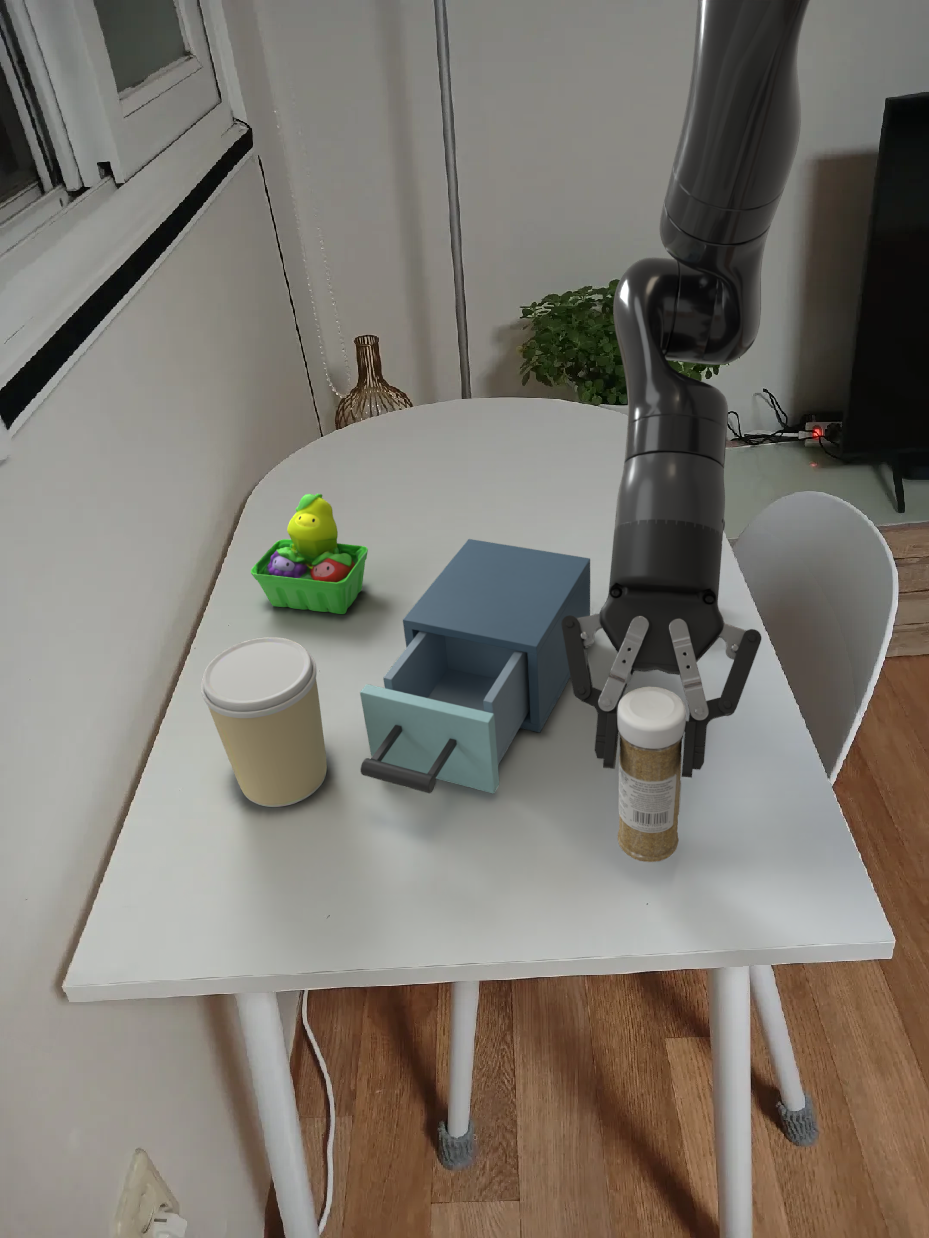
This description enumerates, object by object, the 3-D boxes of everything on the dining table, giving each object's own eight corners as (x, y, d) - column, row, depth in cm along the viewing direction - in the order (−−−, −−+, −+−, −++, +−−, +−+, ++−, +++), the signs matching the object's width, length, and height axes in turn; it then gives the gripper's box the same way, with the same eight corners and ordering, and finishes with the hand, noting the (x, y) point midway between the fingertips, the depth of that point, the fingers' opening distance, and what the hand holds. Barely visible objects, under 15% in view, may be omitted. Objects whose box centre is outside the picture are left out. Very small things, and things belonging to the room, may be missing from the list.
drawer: (466, 844, 75) (458, 771, 70) (339, 806, 79) (324, 736, 75) (549, 694, 89) (547, 625, 84) (437, 669, 93) (430, 603, 89)
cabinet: (540, 733, 86) (536, 646, 80) (413, 703, 91) (402, 619, 85) (590, 640, 97) (590, 558, 91) (475, 617, 102) (468, 538, 96)
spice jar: (684, 827, 72) (693, 691, 65) (669, 872, 69) (677, 734, 61) (625, 812, 74) (628, 678, 66) (608, 855, 71) (608, 719, 63)
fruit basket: (256, 611, 106) (234, 522, 99) (290, 569, 112) (272, 483, 106) (350, 623, 102) (334, 532, 96) (380, 579, 109) (367, 491, 103)
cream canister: (322, 727, 89) (300, 623, 82) (348, 793, 82) (326, 685, 75) (222, 757, 87) (191, 652, 80) (240, 828, 79) (207, 720, 72)
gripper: (560, 510, 65) (535, 759, 63) (778, 520, 62) (761, 785, 59) (573, 537, 73) (551, 762, 70) (769, 548, 69) (754, 785, 67)
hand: (648, 771), depth 65 cm, fingers closed on spice jar, 4 cm apart
